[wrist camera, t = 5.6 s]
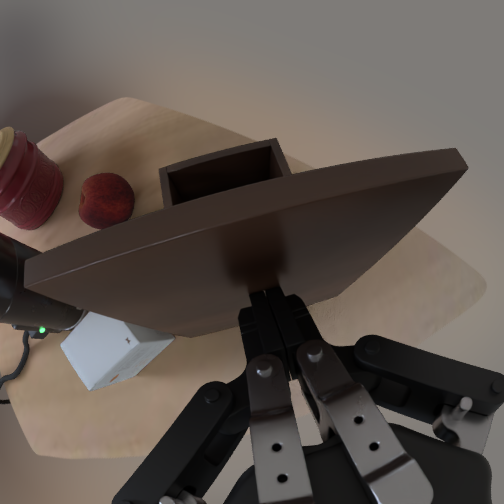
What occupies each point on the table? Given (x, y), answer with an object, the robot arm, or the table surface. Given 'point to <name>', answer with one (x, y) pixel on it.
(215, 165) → the chest
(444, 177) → the lid
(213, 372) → the table surface
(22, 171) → the kitchen canister
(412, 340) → the table surface
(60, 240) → the table surface
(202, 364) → the table surface
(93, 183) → the apple
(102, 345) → the small box
